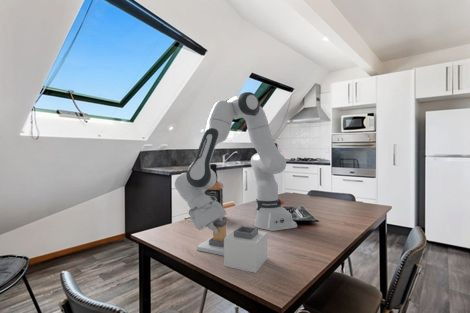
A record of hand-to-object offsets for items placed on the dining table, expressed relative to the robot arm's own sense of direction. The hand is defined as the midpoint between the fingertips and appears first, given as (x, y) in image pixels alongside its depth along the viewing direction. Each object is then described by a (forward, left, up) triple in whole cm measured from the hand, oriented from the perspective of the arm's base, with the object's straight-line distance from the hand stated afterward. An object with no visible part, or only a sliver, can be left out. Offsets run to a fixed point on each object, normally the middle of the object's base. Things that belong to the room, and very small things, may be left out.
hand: (221, 230), depth 107 cm
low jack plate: (+1, 0, -7) cm, 7 cm away
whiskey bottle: (0, -43, -7) cm, 44 cm away
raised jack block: (-7, +16, -7) cm, 19 cm away
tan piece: (+1, 0, -5) cm, 5 cm away
